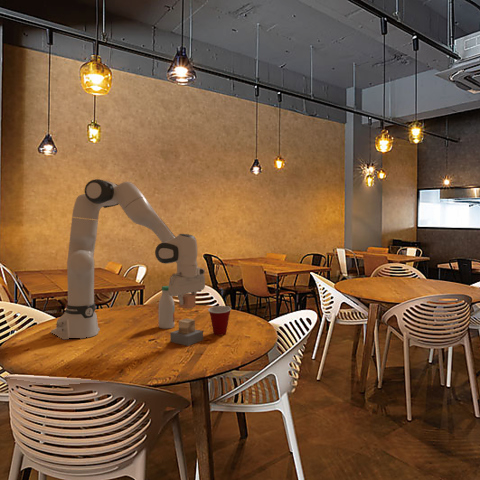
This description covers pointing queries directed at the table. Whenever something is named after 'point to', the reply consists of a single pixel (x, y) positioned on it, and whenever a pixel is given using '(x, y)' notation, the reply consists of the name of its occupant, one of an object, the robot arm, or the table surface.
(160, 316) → the milk bottle
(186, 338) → the slate base
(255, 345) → the table surface
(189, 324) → the maple cube
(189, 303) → the terracotta cube
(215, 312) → the plastic cup
